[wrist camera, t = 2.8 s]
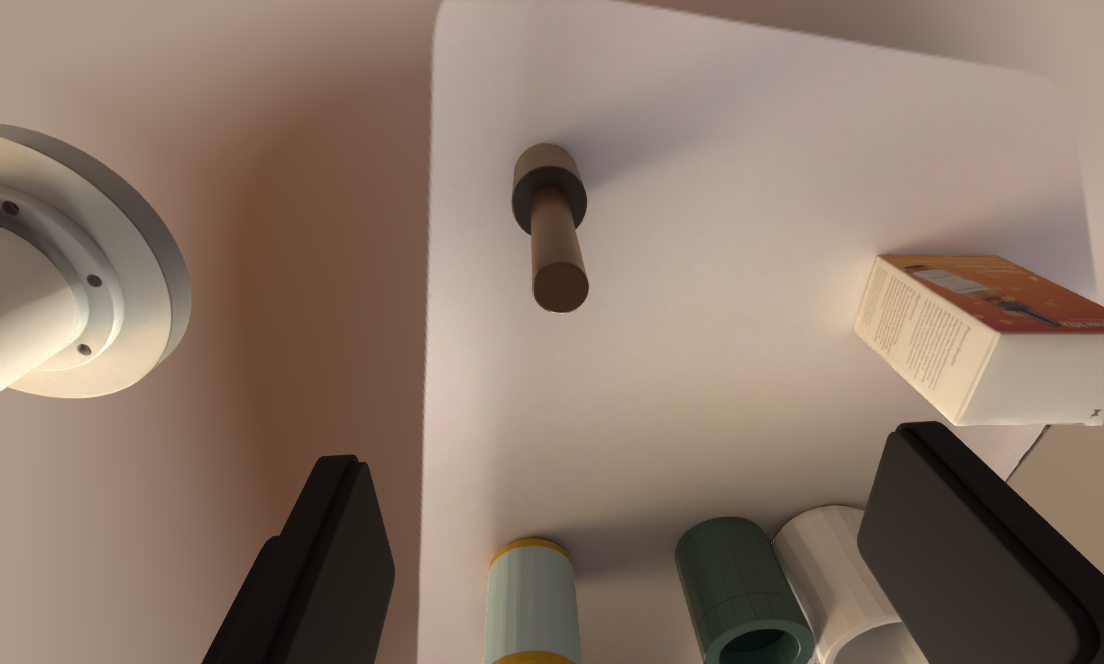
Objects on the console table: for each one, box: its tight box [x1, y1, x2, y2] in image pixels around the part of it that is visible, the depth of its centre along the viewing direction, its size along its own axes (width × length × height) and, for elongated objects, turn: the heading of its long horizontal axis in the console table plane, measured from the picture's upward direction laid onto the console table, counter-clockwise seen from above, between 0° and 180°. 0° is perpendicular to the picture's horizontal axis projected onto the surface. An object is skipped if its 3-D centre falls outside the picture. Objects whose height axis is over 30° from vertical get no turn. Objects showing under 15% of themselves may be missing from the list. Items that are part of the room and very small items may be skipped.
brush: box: [512, 144, 589, 314], centre depth 25 cm, size 4×4×16 cm
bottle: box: [482, 538, 582, 664], centre depth 40 cm, size 7×7×15 cm
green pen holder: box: [675, 517, 816, 664], centre depth 43 cm, size 8×8×9 cm
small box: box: [854, 255, 1104, 426], centre depth 31 cm, size 8×6×10 cm
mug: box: [771, 505, 929, 664], centre depth 43 cm, size 12×9×10 cm
